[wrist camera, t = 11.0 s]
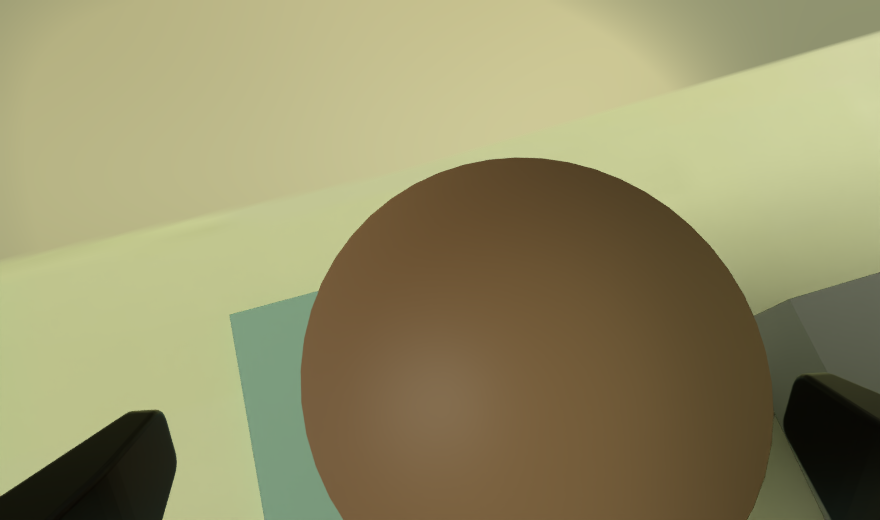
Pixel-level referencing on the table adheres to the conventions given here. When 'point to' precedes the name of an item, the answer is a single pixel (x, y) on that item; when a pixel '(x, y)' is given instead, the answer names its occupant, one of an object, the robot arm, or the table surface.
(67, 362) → the table surface
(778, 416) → the socket block
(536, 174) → the walnut peg
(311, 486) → the green mat
